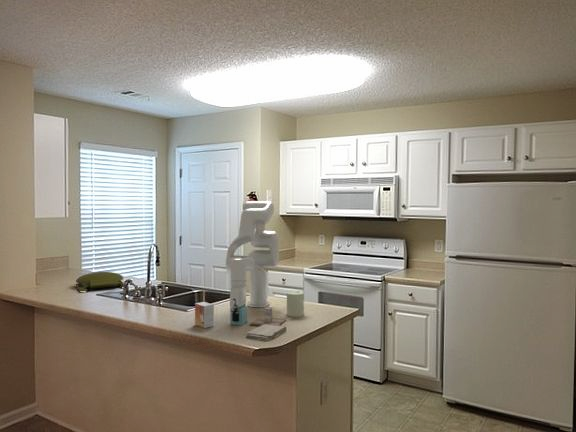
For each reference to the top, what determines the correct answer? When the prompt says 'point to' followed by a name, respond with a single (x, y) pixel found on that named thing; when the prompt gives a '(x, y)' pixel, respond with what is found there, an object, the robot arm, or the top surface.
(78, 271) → the top surface
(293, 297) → the can
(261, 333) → the washcloth
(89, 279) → the green cushion
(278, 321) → the post board
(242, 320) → the teal block
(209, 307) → the small box
